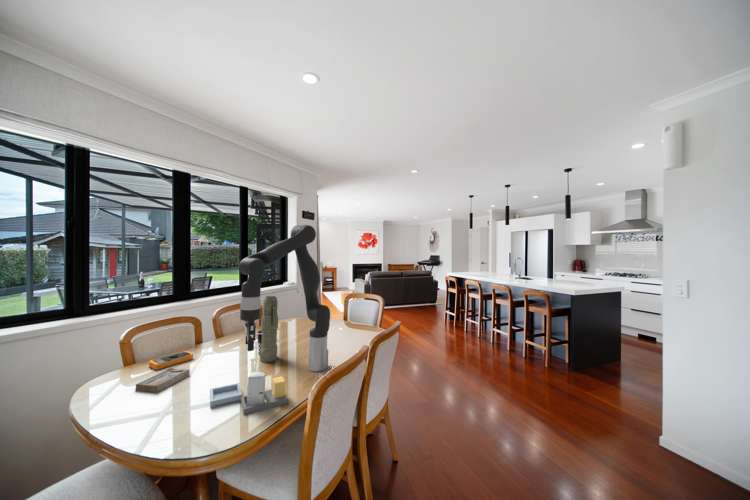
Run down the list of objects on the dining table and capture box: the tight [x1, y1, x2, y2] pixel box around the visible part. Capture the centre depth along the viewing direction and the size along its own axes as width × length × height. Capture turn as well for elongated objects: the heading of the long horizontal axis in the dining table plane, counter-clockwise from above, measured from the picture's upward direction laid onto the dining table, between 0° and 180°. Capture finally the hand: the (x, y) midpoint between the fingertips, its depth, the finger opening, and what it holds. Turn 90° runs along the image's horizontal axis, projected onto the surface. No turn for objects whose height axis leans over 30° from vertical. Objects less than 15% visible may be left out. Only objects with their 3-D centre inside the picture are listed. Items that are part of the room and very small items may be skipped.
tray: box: [209, 382, 243, 409], centre depth 114 cm, size 11×11×2 cm
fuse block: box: [240, 376, 288, 415], centre depth 112 cm, size 16×10×8 cm, turn 122°
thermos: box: [259, 295, 279, 363], centre depth 155 cm, size 9×12×35 cm
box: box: [134, 367, 190, 394], centre depth 125 cm, size 11×17×3 cm, turn 172°
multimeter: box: [148, 351, 194, 371], centre depth 146 cm, size 9×18×3 cm, turn 150°
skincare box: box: [246, 371, 267, 407], centre depth 110 cm, size 6×4×12 cm
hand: (249, 347), depth 113 cm, fingers open, 8 cm apart
